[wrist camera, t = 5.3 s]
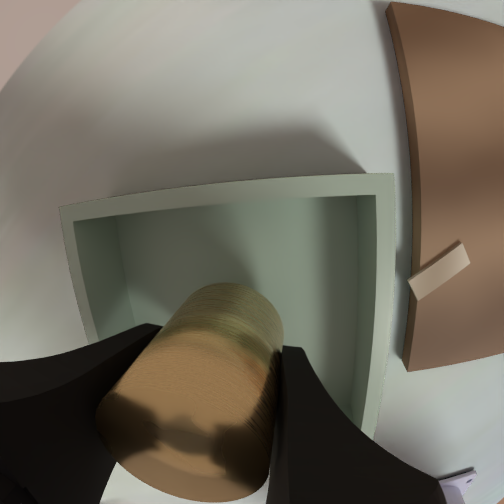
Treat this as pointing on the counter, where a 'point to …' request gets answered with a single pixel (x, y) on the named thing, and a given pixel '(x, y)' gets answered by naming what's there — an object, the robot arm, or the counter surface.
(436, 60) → the crank base
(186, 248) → the tray
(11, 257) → the counter surface
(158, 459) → the pin
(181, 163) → the counter surface
